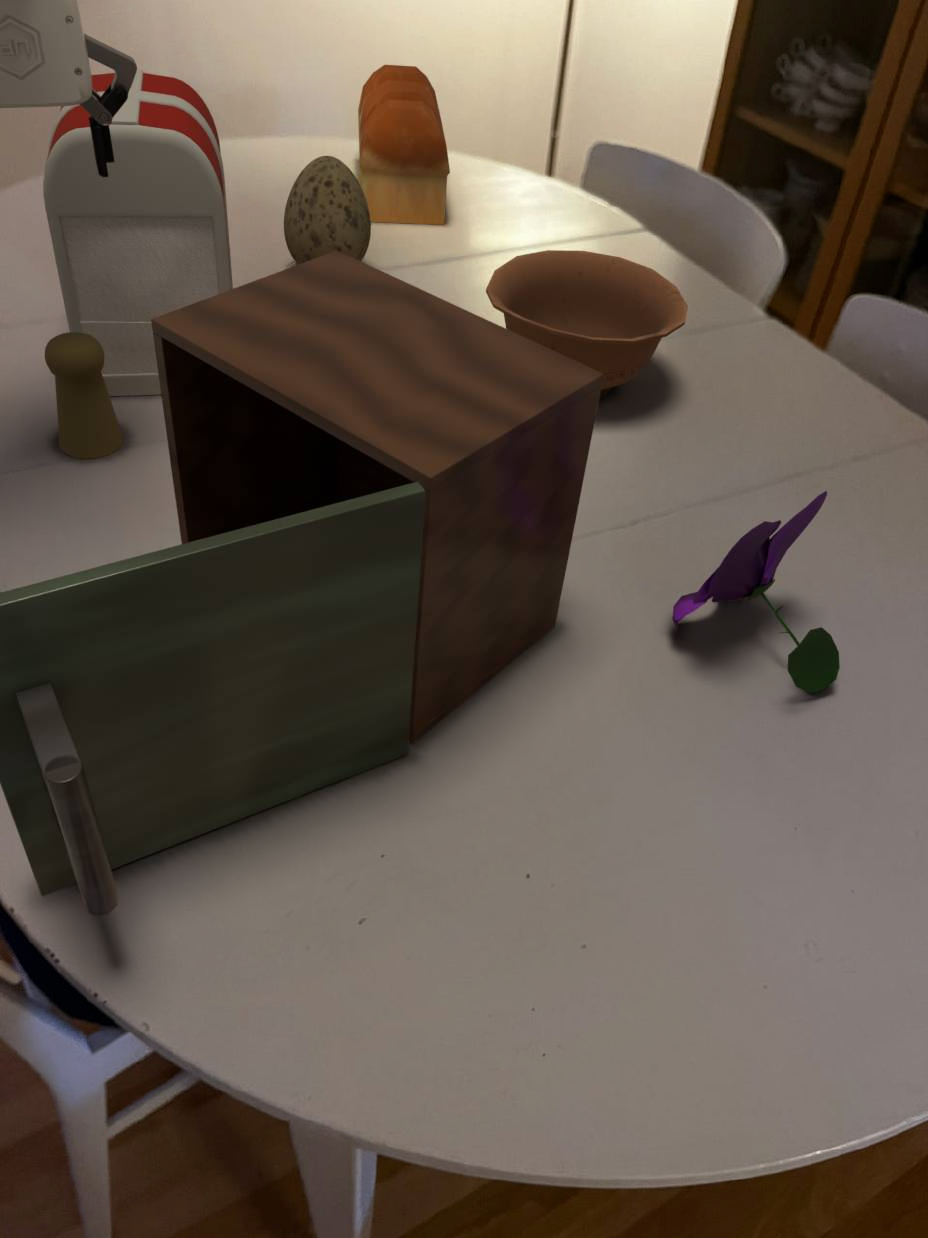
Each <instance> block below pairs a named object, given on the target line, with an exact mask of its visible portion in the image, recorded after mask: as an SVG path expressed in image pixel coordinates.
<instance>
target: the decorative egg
mask: <svg viewBox="0 0 928 1238" xmlns="http://www.w3.org/2000/svg"><path fill="white" fill-rule="evenodd" d="M283 234H284V235H283V236H284V239H285V243H286V247H287V250H288V252H289V254H290V256H291V258H292V260H293V261H294V262H295V264H296V265H299V264H302V263H304V262H307V261H310V260H313V259H315V258H318V257H321V256H323V255H326V254H329V253H331V252H334V251H339V252H341V253H344V254H346V255H348V256H350V257H352V258H354V259H356V260H359V261H361V262H363V260H364V258H365V256H366V255H367V251H368V249H369V245H370V242H371V236H372V235H371V234H372V224H371V221H370V213H369V208H368V204H367V201H366V198H365V195H364V192H363V190H362V188H361V186H360V181H359V180H358V178H357V176H356V175H355V174H354V173H353V171H352V170H351V169H350V168H349V167H348V165H347V164H345V163H344V162H343V161H342V160H341V159H339V158H337V157H335V156H332V155H322V156H319V157H317V158H314V159H312V160H311V161H310V162H309V163H308V164H307V165H306V166H305V167H304V168H303V169H302V170H301V171H300V173H299V174H298V175H297V177H296V179H295V181H294V182H293V185H292V187H291V189H290V192H289V194H288V197H287V200H286V203H285V207H284V214H283Z"/></svg>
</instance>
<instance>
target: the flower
mask: <svg viewBox="0 0 928 1238" xmlns="http://www.w3.org/2000/svg"><path fill="white" fill-rule="evenodd" d="M827 496H828V491H827V490H825V491H823V492H822V493H820V494H818V495H817V496H816V497H815V498H814V499H812V500H811V502H810V503H808V504H807V505H806V506H805V507H804V508H803V509H801V510H800V511H799V512H797V513H796V514H795V515H793V516H792V518H790V519H789V520H788V521H787V522H786V523H785V524H784V525H783V526H781V524H782V520H781V519H779V520H776V521H766V520H765V521H763V522H761V523H759V524H758V525H756V526H754V527H753V528H751V529H750V530H749V531H747V532H746V533H745V534H744V535H743V536H741V537H740V538H739V539H738V541H736V543H735V544H734V545H733V546H732V547H731V548H730V550H729V551H728V552H727V554H726V556H724V558H723V559H722V561H721V562H720V564H719V566H718V567H717V568H716V569H714V571H713V572H712V573H711V574H710V576H709V577H708V578H707V579H706V580H705V581H704V583H703V584H702V585H701V587H700V588H699V589H698V590H697V591H696V592H695V591H694V592H691V593H688V594H685V595H684V594H683V595H681V596H680V597H679V598H678V600H677V601H676V602H675V603H674V605H673V608H672V617H671V619H672V621H673V625H674V627H675V632H674V633H677V630H678V625H679V623H680V621H682V620H683V619H684V618H685V617H686V616H688V615H690V614H692V613H694V612H695V611H696V610H698V609H699V608H700V607H702V606H704V604H706V603H707V602H708V601H709V600H710V599H711V603H720V602H721V603H722V602H736V601H737V602H738V601H739V603H740V602H741V603H744V602H749V601H751V600H754V599H756V598H758V597H759V596H761V597H762V599H763V600H764V602H765V603H766V604H767V606H768V607H769V609H770V610H771V612H772V613H773V614H774V616H775V618H777V620H778V622H780V624H781V625H782V627H783V628H784V629H785V630H786V631H781V632H780V634H789V636H790V638H791V639H792V640H793V642H794V643H795V644H796V647H795V648H794V649H792V651H791V652H790V653H789V654H787V672H788V674H789V677H790V678H791V680H792V682H793V684H794V686H795V687H796V688H798V689H800V690H802V691H804V692H805V693H808V694H813V693H816V692H818V691H821V690H824V689H828V687H829V686H830V685H832V684H833V683H834V682H835V681H836V680H837V678H838V675H839V672H840V668H841V665H840V652H839V650H838V646H837V645H836V642H835V640H834V639H833V637H832V635H831V634H830V633H829V632H828V631H827V630H826V629H825V628H823V627H822V626H821V627H817V628H813V629H809V630H808V632H807V633H806V634H805V636H804V637H803V639H802V640H801V641H798V639H797V637H796V636H795V635H794V633H793V632H792V630H791V629H790V628H789V627H788V625H787V624H786V623H785V621H784V620H783V618H782V617H781V616H780V614H779V613H778V612H779V611H780V610H781V609H782V608H783V606H780V607H779V608H777V609H775V607H774V606H773V604H772V603H771V602H770V600H769V599H768V597H767V596H766V594H765V592H766V591H768V590H769V589H770V588H771V587H772V586H773V584H774V583H775V581H776V579H775V575H776V572H777V569H778V567H779V565H780V564H781V562H782V560H783V558H784V557H785V555H786V553H787V551H788V550H789V549H790V548H791V546H793V544H794V543H795V542H796V541H797V539H799V537H800V536H801V535H802V533H803V532H804V531H805V529H807V527H808V526H809V524H810V523H811V522H812V521H813V520H814V518H815V517H816V515H817V514H818V513H819V512H820V510H821V508H822V507H823V504H824V503H825V502H826V501H825V500H826V498H827ZM780 526H781V527H780ZM779 527H780V528H779ZM744 599H745V600H744ZM740 600H743V601H740Z"/></svg>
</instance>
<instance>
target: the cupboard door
mask: <svg viewBox="0 0 928 1238" xmlns="http://www.w3.org/2000/svg"><path fill="white" fill-rule="evenodd" d="M424 504H425V489H424V488H423V487H422V486H421V485H420V484H419V482H414V483H410V484H407V485H403V486H399V487H395V488H392V489H388V490H384V491H380V492H377V493H373V494H369V495H365V496H362V497H358V498H354V499H350V500H346V501H343V502H339V503H335V504H331V505H328V506H324V507H320V508H316V509H313V510H309V511H305V512H301V513H298V514H294V515H290V516H286V517H283V518H279V519H275V520H271V521H268V522H264V523H260V524H256V525H253V526H249V527H245V528H241V529H238V530H234V531H230V532H226V533H223V534H219V535H215V536H211V537H208V538H204V539H200V540H196V541H193V542H189V543H185V544H182V543H181V544H178V545H174V546H170V547H166V548H162V549H160V550H156V551H151V552H147V553H143V554H140V555H137V556H133V557H129V558H125V559H121V560H118V561H114V562H110V563H106V564H103V565H99V566H95V567H91V568H87V569H84V570H80V571H77V572H72V573H69V574H66V575H61V576H58V577H53V578H50V579H47V580H43V581H39V582H35V583H31V584H27V585H23V586H20V587H16V588H13V589H9V590H5V591H1V592H0V788H1V790H2V793H3V795H4V798H5V801H6V804H7V806H8V809H9V812H10V814H11V818H12V820H13V824H14V825H15V829H16V831H17V833H18V837H19V839H20V843H21V844H22V848H23V850H24V853H25V855H26V859H27V862H28V864H29V867H30V868H31V872H32V874H33V877H34V881H35V883H36V886H37V888H38V892H39V893H40V896H41V897H44V896H47V895H49V894H52V893H55V892H57V891H60V890H62V889H65V888H69V887H71V886H73V885H75V884H77V886H78V890H79V892H80V895H81V899H82V901H83V904H84V907H85V909H86V911H87V912H88V914H89V915H92V916H95V917H103V916H107V915H109V914H111V913H112V912H113V911H114V910H116V908H117V906H118V904H119V901H120V896H119V893H118V890H117V886H116V883H115V879H114V875H113V871H112V870H113V869H116V868H119V867H122V866H124V865H126V864H130V863H131V862H134V861H137V860H139V859H143V858H145V857H147V856H150V855H153V854H154V853H157V852H160V851H162V850H165V849H168V848H170V847H173V846H176V845H178V844H180V843H183V842H185V841H188V840H190V839H191V840H192V839H193V838H196V837H198V836H201V835H203V834H206V833H209V832H211V831H214V830H216V829H219V828H221V827H225V826H227V825H230V824H231V823H234V822H236V821H239V820H241V819H244V818H247V817H250V816H252V815H254V814H257V813H260V812H262V811H265V810H268V809H270V808H273V807H276V806H277V805H280V804H283V803H285V802H288V801H291V800H293V799H295V798H299V797H301V796H303V795H305V794H308V793H311V792H313V791H317V790H319V789H321V788H324V787H326V786H329V785H331V784H334V783H337V782H339V781H342V780H344V779H346V778H349V777H352V776H354V775H355V776H356V775H357V774H359V773H362V772H364V771H367V770H370V769H373V768H375V767H378V766H380V765H382V764H386V763H388V762H390V761H394V760H396V759H399V758H400V757H403V756H406V755H408V753H409V744H410V743H409V729H410V714H411V699H412V684H413V669H414V654H415V639H416V624H417V609H418V594H419V579H420V564H421V549H422V534H423V519H424Z"/></svg>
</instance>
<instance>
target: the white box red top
mask: <svg viewBox="0 0 928 1238" xmlns="http://www.w3.org/2000/svg"><path fill="white" fill-rule="evenodd" d="M114 75H115V71H110V72H103V73H91V78H92V88H93V89H94V90H95V91H96V92H97V93H98V94H99V95H100V96H102V95H103V93H104V92H105V91H106V89H107V88H108V87H109V86H110V84H111V83H112V82H113V79H114ZM88 117H91V115H90V114H89V113H88V112H87V111H86V110H85V109H84V108H83V107H82V106H81V105H80V104H78V105H71V106H60V110H59V112H58V114H57V116H56V118H55V121H54V123H53V126H52V129H51V134H50V138H49V143H48V152H47V158H46V162H45V166H44V170H43V180H42V181H43V182H42V187H43V188H42V189H43V191H42V193H43V201H44V207H45V214H46V218H47V225H48V229H49V234H50V239H51V245H52V251H53V255H54V259H55V264H56V269H57V275H58V281H59V286H60V290H61V295H62V300H63V305H64V310H65V316H66V320H67V327H68V330H69V332H80V333H85V334H88V335H91V336H93V337H94V338H96V340H97V341H98V342H99V343H100V345H101V346H102V349H103V351H104V367H103V368H102V370H101V373H102V376H103V379H104V382H105V385H106V388H107V391H108V394H109V397H126V396H127V397H129V396H131V397H132V396H161V389H160V382H159V375H158V368H157V360H156V353H155V346H154V338H153V331H152V324H151V319H153V318H156V317H158V316H161V315H164V314H166V313H169V312H172V311H175V310H177V309H180V308H183V307H185V306H188V305H191V304H194V303H196V302H199V301H202V300H204V299H207V298H210V297H212V296H215V295H218V294H221V293H223V292H226V291H229V290H231V289H234V284H233V272H232V269H233V268H232V257H231V244H230V243H231V242H230V232H229V231H230V230H229V219H228V218H229V217H228V205H227V195H226V191H227V190H226V180H225V169H224V163H223V158H222V152H221V145H220V139H219V135H218V128H217V126H216V123H215V120H214V117H213V115H212V113H211V111H210V108H209V107H208V105H207V103H206V102H205V101H204V98H203V97H202V96H201V95H200V94H199V93H198V91H197V90H196V89H195V88H194V87H192V86H191V85H190V84H189V83H187V82H186V81H184V80H182V79H181V78H178V77H175V76H171V75H170V76H169V75H164V74H157V73H152V72H146V71H144V70H143V69H137V72H136V74H135V77H134V80H133V83H132V86H131V89H130V90H129V93H128V99H127V101H126V102H125V103H124V104H123V106H122V107H121V108H120V109H119V111H118V112H117V113H116V114H115V116H114V117H113V118H112V122H111V124H110V125H109V129H110V135H111V142H112V148H113V154H114V162H111V163H106V164H107V170H108V177H102V176H99V173H98V169H97V165H96V160H95V154H94V148H93V142H92V136H91V130H90V124H89V118H88Z"/></svg>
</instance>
